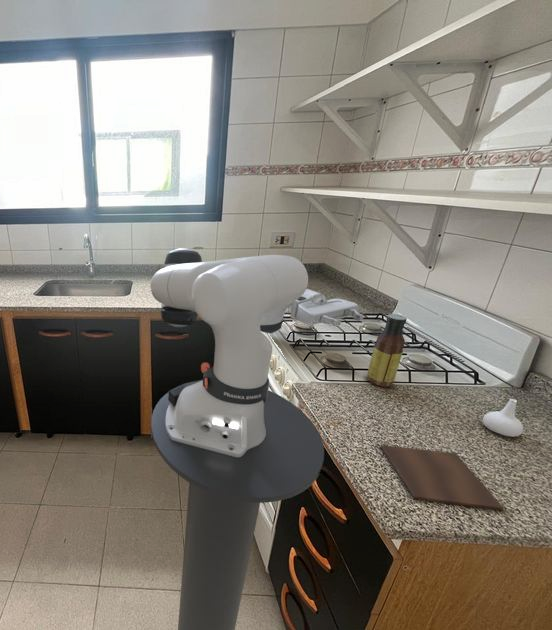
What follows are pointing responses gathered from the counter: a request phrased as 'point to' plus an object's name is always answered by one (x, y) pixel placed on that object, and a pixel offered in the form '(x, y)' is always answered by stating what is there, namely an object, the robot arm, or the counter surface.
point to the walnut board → (439, 477)
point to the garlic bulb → (504, 421)
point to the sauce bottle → (387, 352)
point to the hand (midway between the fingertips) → (350, 320)
